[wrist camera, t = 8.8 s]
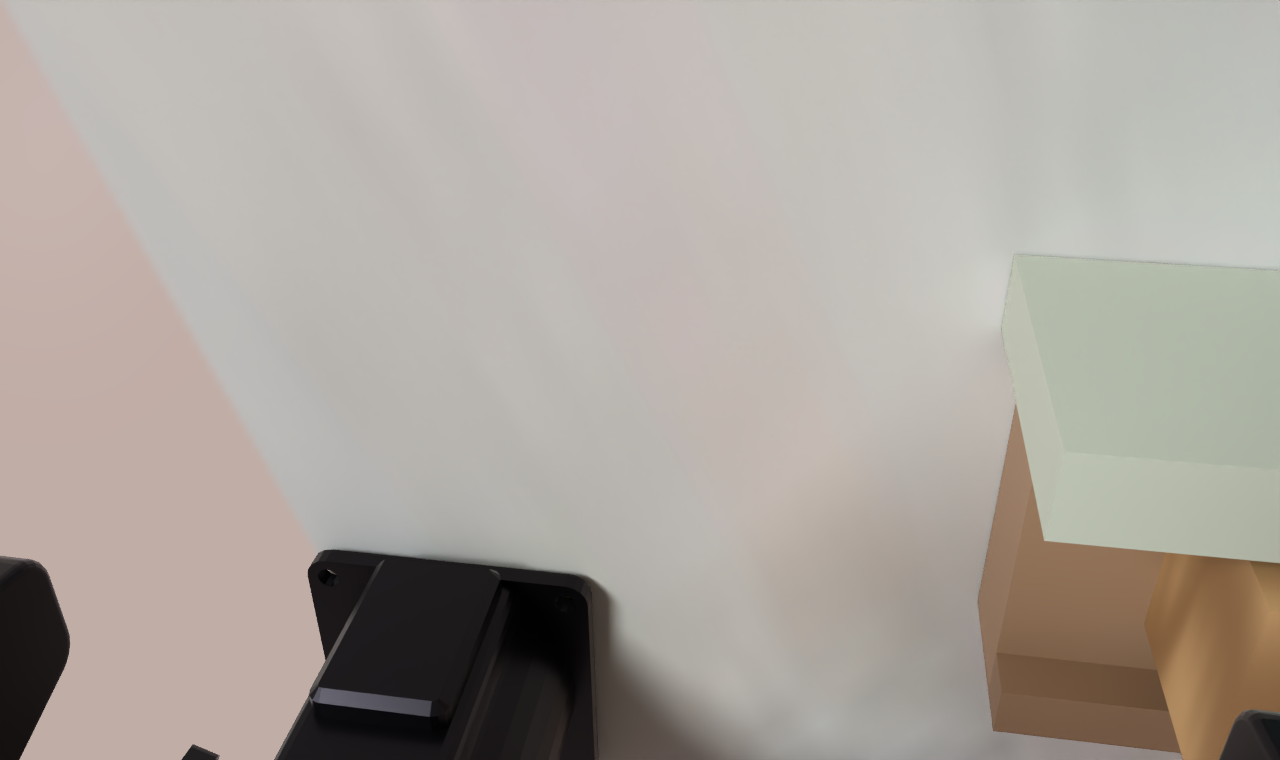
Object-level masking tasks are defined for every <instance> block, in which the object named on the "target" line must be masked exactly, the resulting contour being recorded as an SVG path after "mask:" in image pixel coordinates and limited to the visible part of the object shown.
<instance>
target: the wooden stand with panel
mask: <svg viewBox="0 0 1280 760" xmlns="http://www.w3.org/2000/svg"><path fill="white" fill-rule="evenodd" d="M1001 331H1002V336H1003V341H1004V346H1005V351H1006V356H1007V361H1008V366H1009V370H1010V375H1011V380H1012V385H1013V390H1014V395H1015V400H1016V406H1015V411H1014V416H1013V421H1012V426H1011V431H1010V437H1009V442H1008V447H1007V452H1006V457H1005V463H1004V468H1003V473H1002V478H1001V483H1000V488H999V494H998V499H997V504H996V509H995V514H994V519H993V525H992V530H991V535H990V540H989V545H988V551H987V556H986V561H985V566H984V571H983V576H982V582H981V587H980V592H979V597H978V609H979V617H980V626H981V634H982V642H983V651H984V659H985V667H986V676H987V684H988V692H989V701H990V709H991V717H992V726H993V731H999V732H1007V733H1016V734H1024V735H1033V736H1041V737H1050V738H1058V739H1067V740H1075V741H1084V742H1092V743H1101V744H1109V745H1118V746H1126V747H1134V748H1143V749H1151V750H1160V751H1168V752H1177V753H1181V751H1180V748H1179V744H1178V741H1177V737H1176V734H1175V730H1174V727H1173V723H1172V720H1171V717H1170V713H1169V710H1168V706H1167V703H1166V699H1165V696H1164V692H1163V689H1162V686H1161V682H1160V679H1159V675H1158V672H1157V668H1156V665H1155V661H1154V658H1153V655H1152V651H1151V648H1150V644H1149V641H1148V637H1147V634H1146V630H1145V627H1144V622H1145V619H1146V615H1147V612H1148V609H1149V605H1150V602H1151V599H1152V595H1153V592H1154V589H1155V585H1156V582H1157V578H1158V575H1159V572H1160V568H1161V565H1162V562H1163V558H1164V555H1165V552H1167V553H1177V554H1188V555H1198V556H1209V557H1219V558H1230V559H1241V560H1251V561H1262V562H1272V563H1280V271H1276V270H1260V269H1243V268H1227V267H1210V266H1194V265H1177V264H1161V263H1144V262H1128V261H1112V260H1095V259H1079V258H1062V257H1046V256H1029V255H1014V261H1013V266H1012V272H1011V277H1010V283H1009V289H1008V294H1007V300H1006V306H1005V311H1004V317H1003V322H1002V328H1001Z"/></svg>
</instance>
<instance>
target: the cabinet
mask: <svg viewBox="0 0 1280 760" xmlns="http://www.w3.org/2000/svg"><path fill="white" fill-rule="evenodd" d="M1144 627H1145V630H1146V634H1147V637H1148V641H1149V644H1150V648H1151V651H1152V655H1153V658H1154V661H1155V665H1156V668H1157V672H1158V675H1159V679H1160V682H1161V686H1162V689H1163V692H1164V696H1165V699H1166V703H1167V706H1168V710H1169V713H1170V717H1171V720H1172V723H1173V727H1174V730H1175V734H1176V737H1177V741H1178V744H1179V748H1180V751H1181V754H1182V758H1183V760H1219V757H1220V755H1221V752H1222V750H1223V747H1224V745H1225V742H1226V740H1227V737H1228V735H1229V732H1230V730H1231V727H1232V725H1233V723H1234V721H1235V719H1236V718H1237V716H1238V715H1239V714H1240V713H1241V712H1243V711H1245V710H1250V709H1256V710H1265V711H1273V712H1280V563H1272V562H1262V561H1251V560H1241V559H1230V558H1219V557H1209V556H1198V555H1188V554H1177V553H1167V552H1165V555H1164V558H1163V562H1162V565H1161V568H1160V572H1159V575H1158V578H1157V582H1156V585H1155V589H1154V592H1153V595H1152V599H1151V602H1150V605H1149V609H1148V612H1147V615H1146V619H1145V622H1144Z"/></svg>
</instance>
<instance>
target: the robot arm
mask: <svg viewBox="0 0 1280 760" xmlns="http://www.w3.org/2000/svg"><path fill="white" fill-rule="evenodd" d="M327 569H328V570H331V571H333V572H334V573H336V574H337V575H335V574H332V573H330V572H329V571H328V570H327ZM308 578H309V583H310V588H311V593H312V598H313V602H314V607H315V612H316V617H317V622H318V626H319V631H320V636H321V641H322V645H323V650H324V655H325V660H326V661H325V663H324V665H323V667H322V669H321V671H320V672H319V674H318V676H317V678H316V680H315V681H314V683H313V685H312V687H311V689H310V694H309V696H308V698H307V700H306V702H305V703H304V705H303V707H302V709H301V711H300V713H299V715H298V716H297V718H296V720H295V722H294V724H293V726H292V728H291V730H290V731H289V733H288V735H287V737H286V739H285V741H284V742H283V745H282V746H281V748H280V750H279V752H278V754H277V755H276V758H275V759H274V760H598V736H597V711H596V687H595V663H594V638H593V614H592V593H591V590H590V587H589V586H588V585H587V583H586V582H585V581H584V580H582V579H580V578H579V577H577V576H573V575H569V574H560V573H550V572H541V571H531V570H522V569H512V568H502V567H493V566H483V565H474V564H464V563H455V562H445V561H436V560H426V559H416V558H407V557H397V556H388V555H378V554H369V553H359V552H350V551H340V550H324V551H322V552H320V553H318V555H317V556H316V558H315V559H314V561H313V562H312V564H311V566H310V567H309V569H308ZM561 595H567V596H570V597H572V598H573V599H574V600H568V599H564V598H563V597H562V596H561ZM69 648H70V636H69V632H68V629H67V626H66V623H65V620H64V617H63V614H62V611H61V608H60V606H59V603H58V600H57V597H56V594H55V591H54V588H53V585H52V583H51V580H50V577H49V574H48V572H47V570H46V569H45V568H44V567H43V566H42V565H41V564H40V563H39V562H36V561H34V560H30V559H22V558H14V557H6V556H0V760H19V759H20V757H21V755H22V753H23V751H24V749H25V747H26V745H27V743H28V741H29V739H30V737H31V735H32V733H33V731H34V729H35V727H36V725H37V723H38V721H39V718H40V717H41V715H42V712H43V710H44V708H45V706H46V704H47V702H48V700H49V698H50V696H51V694H52V692H53V690H54V688H55V686H56V684H57V682H58V680H59V678H60V676H61V674H62V672H63V670H64V667H65V665H66V662H67V659H68V655H69ZM218 759H219V755H217V754H215V753H213V752H210V751H208V750H206V749H203V748H201V747H198V746H196V745H192V746H191V748H190V749H189V750H188V752H187V753H186V755H185V756H184V757H183V759H182V760H218ZM1219 760H1280V712H1273V711H1265V710H1256V709H1250V710H1245V711H1243V712H1241V713H1240V714H1239V715H1238V716H1237V718H1236V719H1235V721H1234V723H1233V725H1232V727H1231V730H1230V732H1229V735H1228V737H1227V740H1226V742H1225V745H1224V747H1223V750H1222V752H1221V755H1220V757H1219Z"/></svg>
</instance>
